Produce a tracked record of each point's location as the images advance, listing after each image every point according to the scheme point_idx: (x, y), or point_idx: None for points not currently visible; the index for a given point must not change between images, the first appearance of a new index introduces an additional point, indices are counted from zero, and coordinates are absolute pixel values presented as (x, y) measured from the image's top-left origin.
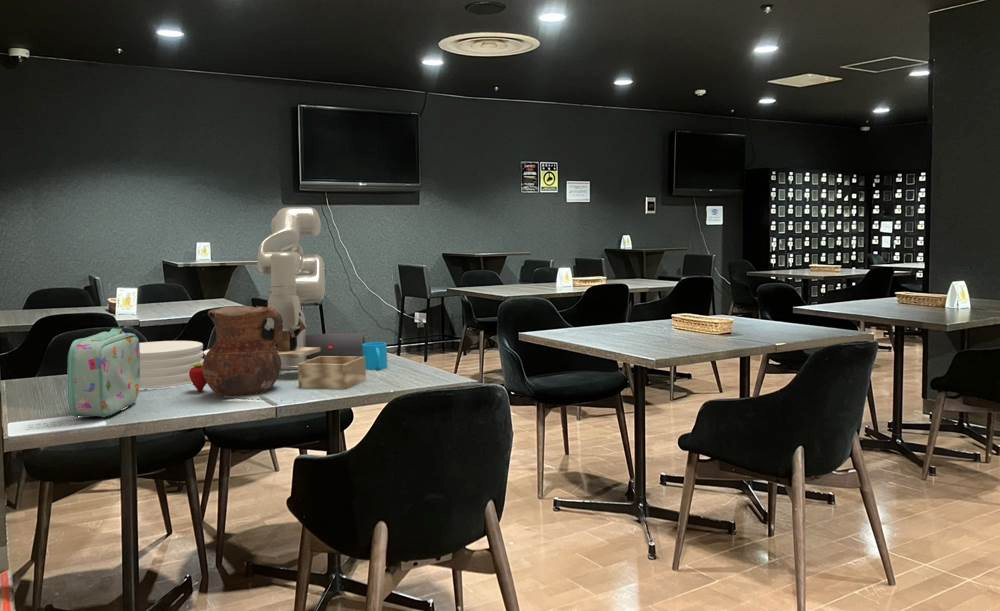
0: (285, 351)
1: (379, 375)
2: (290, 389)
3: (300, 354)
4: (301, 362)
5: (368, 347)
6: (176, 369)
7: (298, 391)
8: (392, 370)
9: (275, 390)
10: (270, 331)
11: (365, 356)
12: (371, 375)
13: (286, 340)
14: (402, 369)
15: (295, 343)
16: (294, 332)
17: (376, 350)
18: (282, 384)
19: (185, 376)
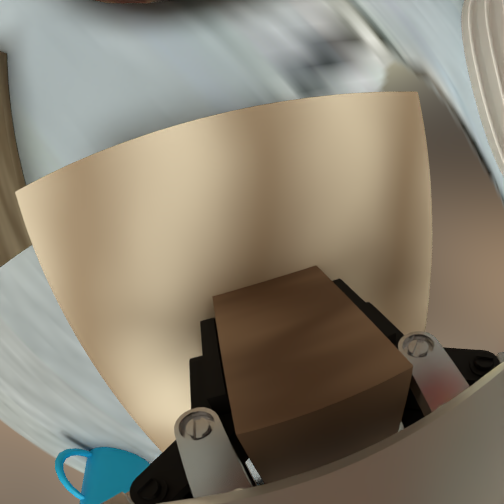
0: (241, 279)
1: (8, 389)
2: (48, 53)
3: (28, 220)
4: None
5: (99, 500)
6: (498, 7)
7: (6, 50)
8: (51, 443)
9: (93, 10)
10: (482, 353)
11: (114, 479)
12: (21, 386)
13: (252, 348)
14: (48, 452)
15: (194, 381)
16: (184, 463)
17: (68, 486)
18: (148, 111)
19: (481, 30)
